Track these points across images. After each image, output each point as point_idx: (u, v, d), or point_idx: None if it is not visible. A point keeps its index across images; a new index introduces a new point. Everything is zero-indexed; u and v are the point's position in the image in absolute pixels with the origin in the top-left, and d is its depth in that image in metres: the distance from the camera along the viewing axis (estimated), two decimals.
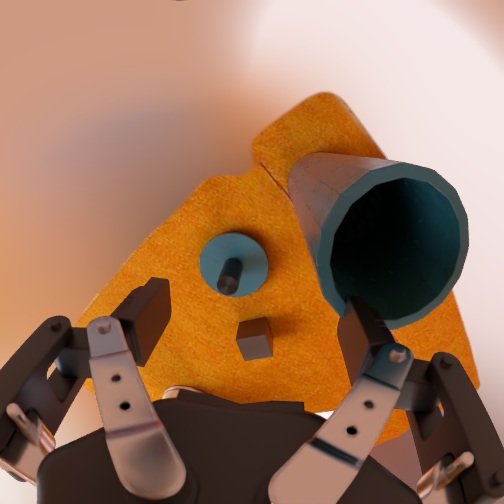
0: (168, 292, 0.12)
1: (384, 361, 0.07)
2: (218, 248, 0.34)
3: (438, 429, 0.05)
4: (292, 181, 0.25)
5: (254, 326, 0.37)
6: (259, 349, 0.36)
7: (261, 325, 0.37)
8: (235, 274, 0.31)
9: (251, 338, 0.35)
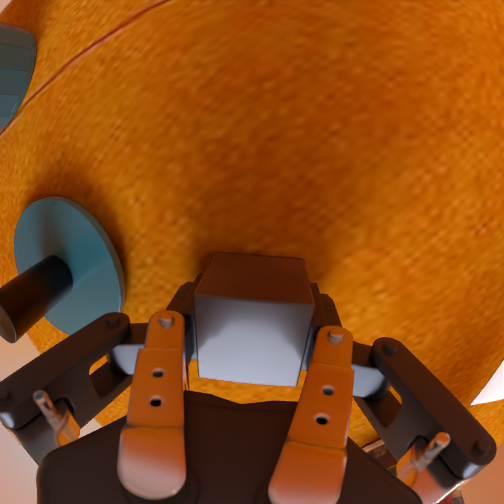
0: None
1: (325, 345, 0.08)
2: None
3: (399, 415, 0.06)
4: None
5: None
6: (260, 337, 0.09)
7: None
8: None
9: (200, 340, 0.10)
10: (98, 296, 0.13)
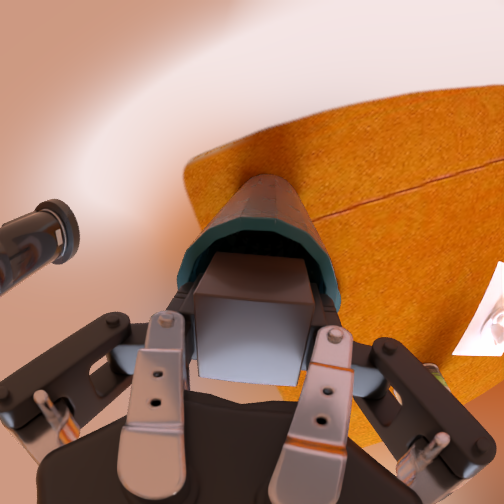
0: None
1: (325, 345, 0.08)
2: None
3: (399, 415, 0.06)
4: None
5: None
6: (260, 336, 0.09)
7: None
8: None
9: (200, 339, 0.10)
10: None
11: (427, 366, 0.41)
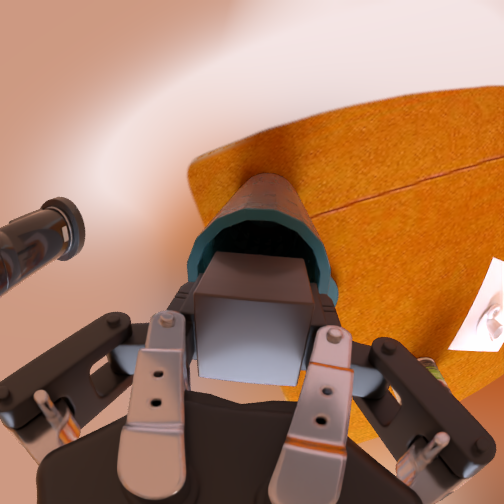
0: None
1: (324, 345, 0.08)
2: None
3: (399, 414, 0.06)
4: None
5: None
6: (260, 336, 0.09)
7: None
8: None
9: (200, 339, 0.10)
10: None
11: (424, 360, 0.42)
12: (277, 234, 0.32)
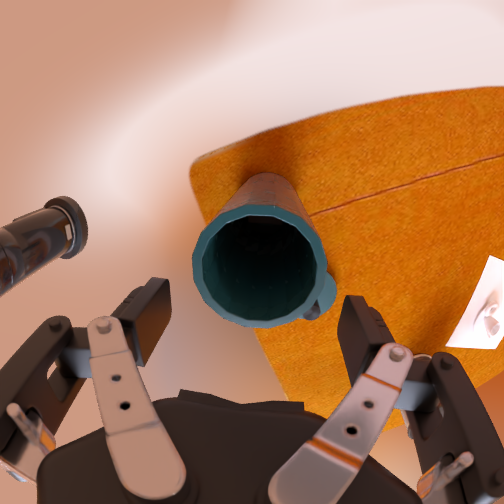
0: (168, 292, 0.12)
1: (384, 361, 0.07)
2: None
3: (438, 429, 0.05)
4: None
5: None
6: None
7: None
8: None
9: None
10: (325, 300, 0.40)
11: (421, 357, 0.43)
12: (277, 232, 0.33)
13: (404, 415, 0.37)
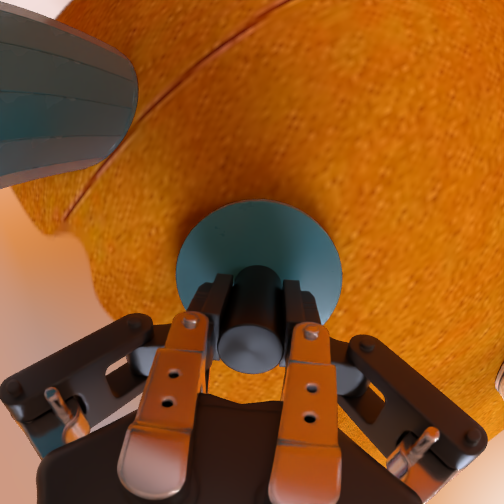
0: (232, 287, 0.13)
1: (302, 342, 0.08)
2: None
3: (383, 412, 0.06)
4: None
5: None
6: None
7: None
8: (227, 316, 0.10)
9: None
10: (315, 288, 0.14)
11: None
12: None
13: None
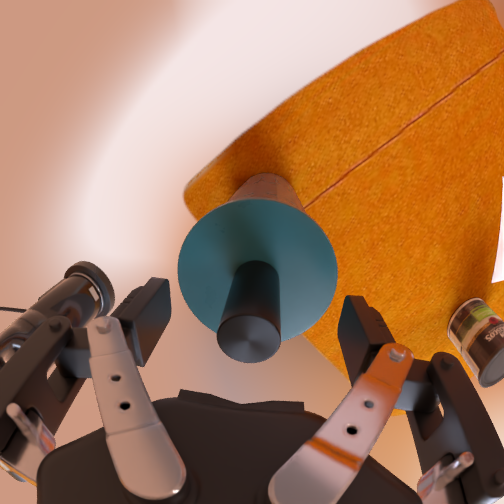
0: (168, 292, 0.12)
1: (384, 361, 0.07)
2: (213, 307, 0.15)
3: (438, 429, 0.05)
4: None
5: None
6: None
7: None
8: (227, 307, 0.11)
9: None
10: (312, 282, 0.14)
11: (471, 302, 0.38)
12: None
13: (471, 366, 0.32)
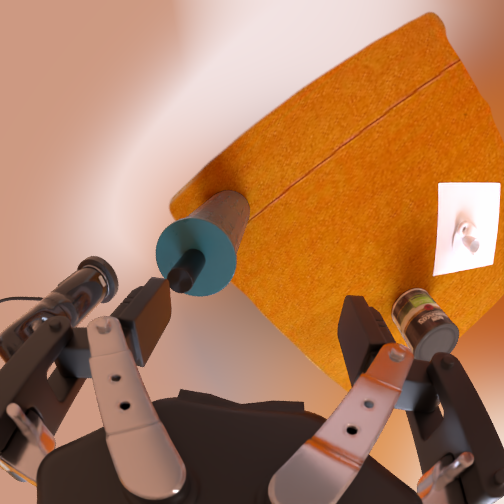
0: (168, 292, 0.12)
1: (384, 361, 0.07)
2: None
3: (438, 429, 0.05)
4: None
5: None
6: None
7: None
8: (172, 267, 0.24)
9: None
10: (222, 260, 0.28)
11: (412, 291, 0.52)
12: None
13: (408, 346, 0.46)
